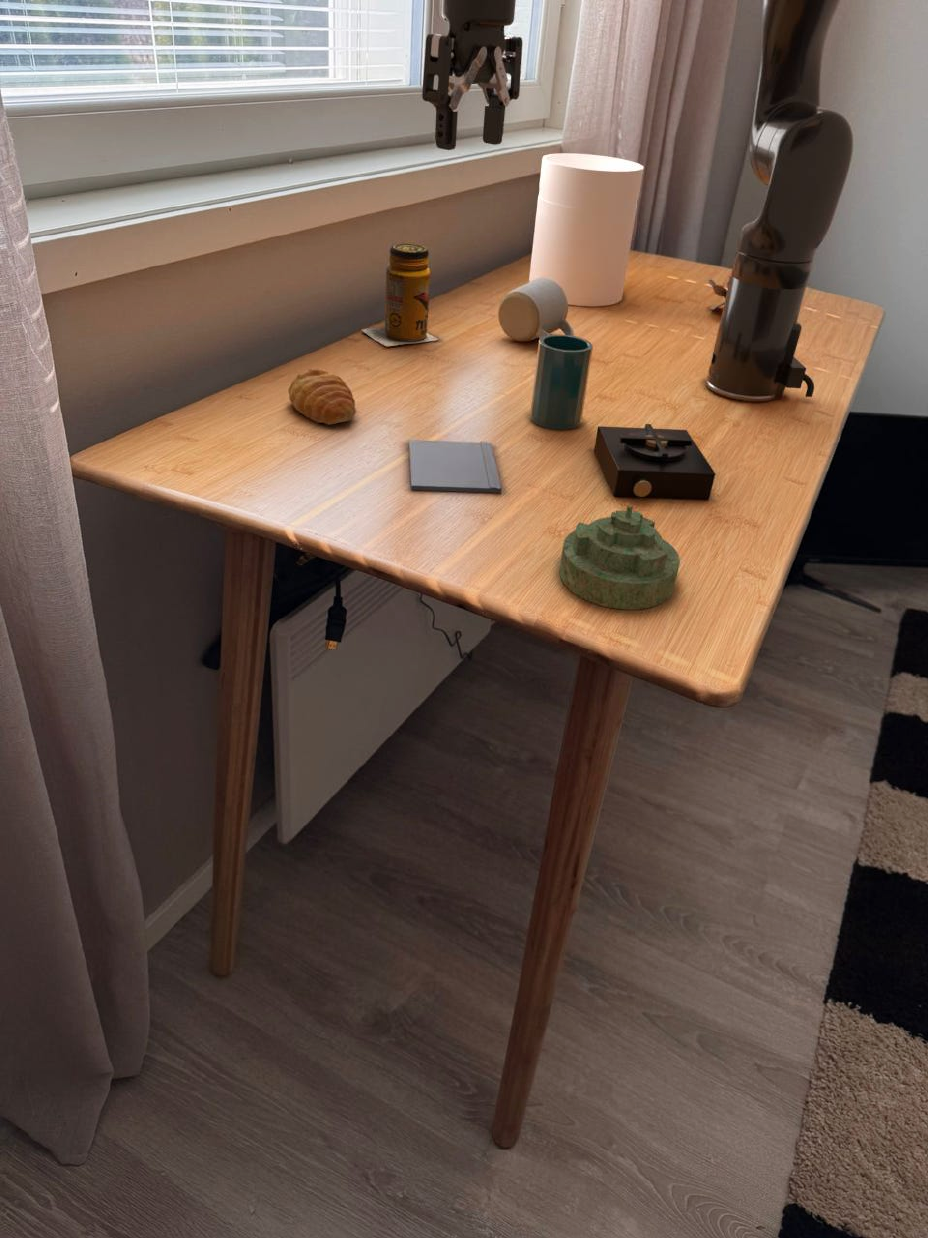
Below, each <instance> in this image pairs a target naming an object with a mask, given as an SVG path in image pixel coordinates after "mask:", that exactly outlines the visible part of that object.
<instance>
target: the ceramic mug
mask: <svg viewBox="0 0 928 1238" xmlns="http://www.w3.org/2000/svg"><path fill="white" fill-rule="evenodd" d="M497 311H498V312H497V316H498V322H499V326H500V327H501V329H502V331H503V332H504V334H505V335H506V336H507V337H509V338H510V339H511V340H514V341H516V342H529V341H533V340H535V339H539V340H540V339H541V338H542V337H544V336H547V335H551V333H554V332H556V331H558V330H560V331H562V332H563V335H570V336H575V332H574V329H573V327H572V326H571V324H570V323H569V322H568V321H567V317H568V314H569V305H568V302H567V298H566V296H565V293H564V292H563V290H562V288H561V287H560V286H559V285H558V284H557V283H556V282H554V281H553V280H551V279H548V278H537V279H535V280H533V281H531V282H529V281H528V282H527V283H525V284H523V285H520V286H519V287H517V288H515V289H513V290H511V291H509V292H508V293H507V294H506V295H505V296H504V297H503V298H502V300H501V302H500V304H499V306H498V310H497Z"/></svg>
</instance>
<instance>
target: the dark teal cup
mask: <svg viewBox="0 0 928 1238" xmlns="http://www.w3.org/2000/svg"><path fill="white" fill-rule="evenodd" d="M593 348H594V346H593V344H592V343H591V341H588V340H587V339H586V338H582V337H579V336H575V335H574V336H570V335H565V334H550V335H547V336H544V337H542V338H541V339H539V340H538V346H537V355H536V364H535V371H534V380H533V387H532V388H533V389H532V396H531V405H530V417H529V419H530V420H531V422H532V423H533V424H535V425H537V426H539V427H541V428H545V429H548V430H554V431H567V430H568V431H569V430H573V429H576V428H578V427H580V425H581V424H582V419H583V413H584V406H585V400H586V395H587V394H586V393H587V388H588V382H589V381H588V380H589V375H590V368H591V362H592V356H593V351H594V349H593Z"/></svg>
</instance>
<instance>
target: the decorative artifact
mask: <svg viewBox="0 0 928 1238" xmlns="http://www.w3.org/2000/svg"><path fill="white" fill-rule="evenodd" d="M633 508H634V506H633V505H631V504H628V505H627V506H626V510H615V511H612V512H611V515H610V516H607V517H601V518H598V519H595V520H593V521H591V522H590V523H584V522H580V521H579V522H578V523H577V525H576V529H574V530H573V531H571V532H569V533H568V534H567V536H566V537H565V538H564V540H563V543H562V549H561V557H560V563H559V570H558V573H559V577H560V580H561V582H562V583H563V584H564V586H565V587H566V588H567V589H568V590H569V591H570V592H571V593H573V594H574V595H576V596H578V597H579V598H581V599H583V600H585V601H587V602H589V603H592V604H594V605H597V606H601V607H606V608H609V609H616V610H626V611H627V610H628V611H629V610H630V611H633V610H635V611H636V610H644V609H651V608H654V607H657V606H659V605H661V604H663V603H665V602H666V601H667V600H669V598H670V597H671V596H672V594H673V592H674V589H675V585H676V581H677V576H678V572H679V568H680V565H681V564H680V563H681V560H680V555H679V553H678V552H677V550H676V548H674V547H673V545H671V544H670V543H669V542H668V541H667V540H665V539H663V536H662V534H661V533H660V532H659V531H658V530H657V528H655V525H656V522H655V521H653V520H651V519H649V518H646V517H644V515H643V514H642V513H640V512H639V511H637V510H634V511H633Z"/></svg>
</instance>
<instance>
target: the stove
mask: <svg viewBox="0 0 928 1238" xmlns="http://www.w3.org/2000/svg"><path fill="white" fill-rule="evenodd" d="M593 452H594V455H595V457H596V459H597V461H598V464H599V466H600V468H601V470H602V473H603V476H604V478H605V480H606V483H607V484H608V486H609V489H610V491H611V494H612V495H613V497H614V498H636V499H637V498H638V499H665V500H667V499H668V500H692V501H693V500H695V501H697V500H698V501H709V500H710V497H711V493H712V489H713V487H714V482H715V478H716V472H715V471H714V469H713V468H712V466H711V464H710V463H709V461H708V460H707V459H706V457H705V456H704V454H703V453H702V451H701V450H700V448H699V447H698V445H697V444H696V442H695V441H694V439H693V438H692V436H691V435H690V433H689V432H688V430H687V429H674V428H653V425H652V424H651V423H645V425H644V427H629V426H627V427H625V426H623V427H622V426H602V425H601V426H600V425H599V426H597V431H596V435H595V441H594V447H593Z"/></svg>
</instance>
